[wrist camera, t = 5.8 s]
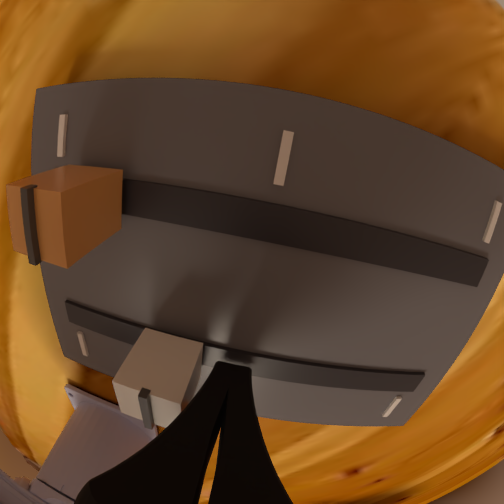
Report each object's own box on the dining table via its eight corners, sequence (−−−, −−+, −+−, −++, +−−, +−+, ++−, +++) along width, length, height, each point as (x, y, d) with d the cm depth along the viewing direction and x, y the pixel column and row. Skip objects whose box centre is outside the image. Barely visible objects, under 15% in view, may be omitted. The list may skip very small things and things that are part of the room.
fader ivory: (200, 376, 11) (180, 438, 8) (148, 361, 11) (119, 417, 9) (203, 342, 11) (178, 408, 8) (145, 326, 11) (108, 385, 8)
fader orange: (121, 230, 9) (62, 274, 6) (69, 219, 9) (8, 255, 6) (123, 168, 8) (54, 192, 5) (68, 163, 8) (-1, 185, 5)
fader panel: (397, 403, 14) (403, 428, 13) (78, 338, 15) (62, 358, 13) (507, 178, 9) (535, 189, 7) (63, 89, 9) (33, 88, 7)
